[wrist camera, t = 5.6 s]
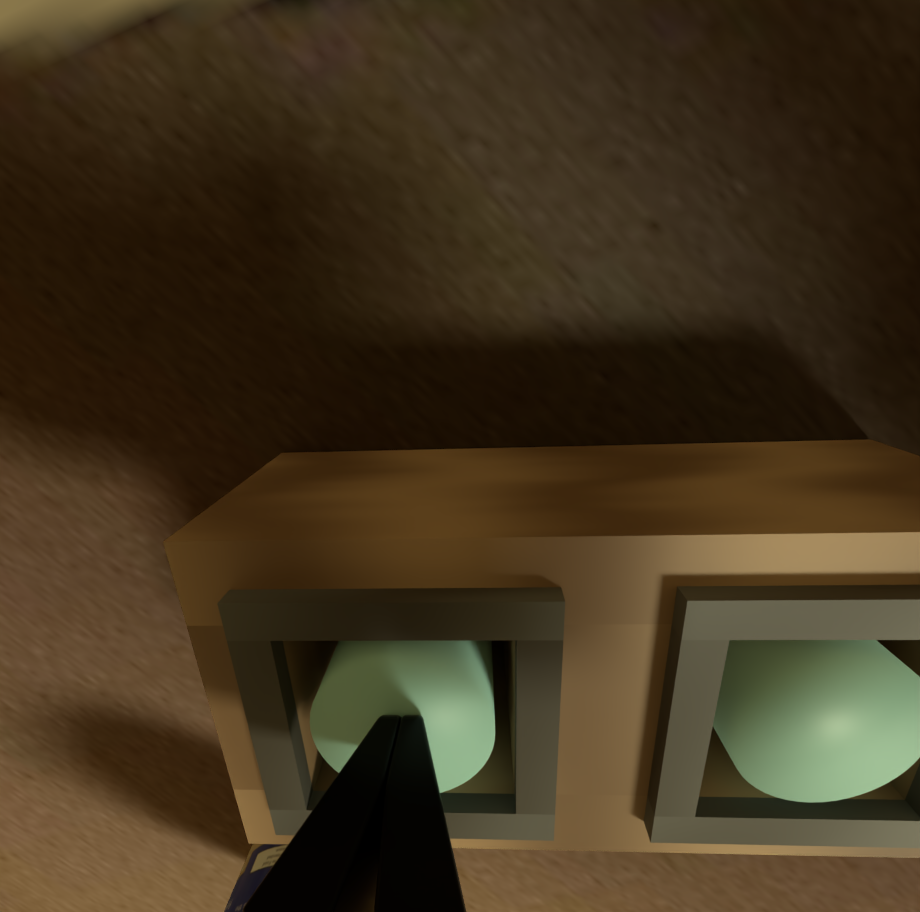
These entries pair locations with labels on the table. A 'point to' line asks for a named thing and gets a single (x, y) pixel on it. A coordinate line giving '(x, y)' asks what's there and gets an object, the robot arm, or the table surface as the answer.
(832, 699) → the plunger
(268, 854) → the pill bottle
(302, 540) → the socket block
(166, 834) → the table surface
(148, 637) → the table surface
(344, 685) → the plunger
